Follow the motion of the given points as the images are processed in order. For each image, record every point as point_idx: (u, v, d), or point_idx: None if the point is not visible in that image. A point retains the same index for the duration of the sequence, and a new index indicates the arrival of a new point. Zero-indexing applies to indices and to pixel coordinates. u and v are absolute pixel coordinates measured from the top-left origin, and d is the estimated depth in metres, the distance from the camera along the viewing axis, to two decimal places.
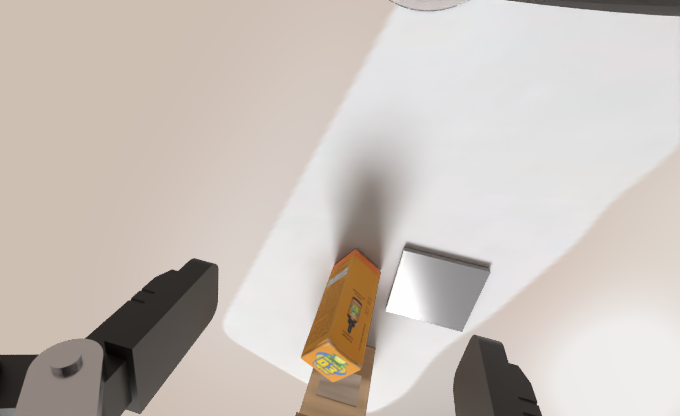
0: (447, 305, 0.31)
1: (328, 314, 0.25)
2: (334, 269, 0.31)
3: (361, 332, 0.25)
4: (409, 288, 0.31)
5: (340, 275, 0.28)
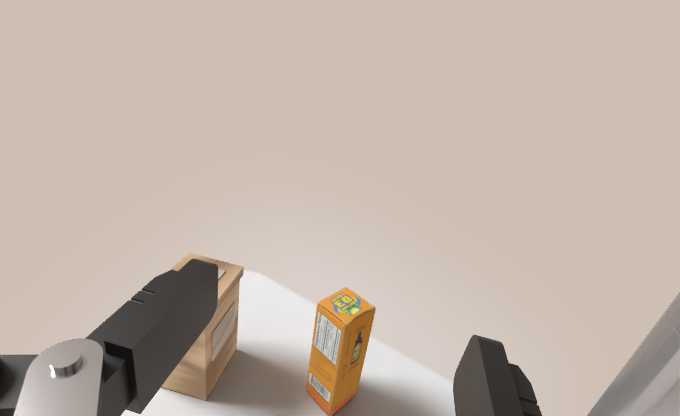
0: None
1: None
2: None
3: (349, 346, 0.26)
4: None
5: None
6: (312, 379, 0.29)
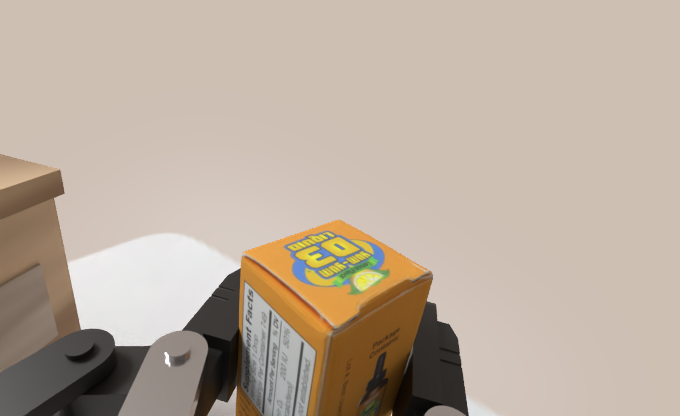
0: None
1: None
2: None
3: (345, 404, 0.07)
4: None
5: None
6: None
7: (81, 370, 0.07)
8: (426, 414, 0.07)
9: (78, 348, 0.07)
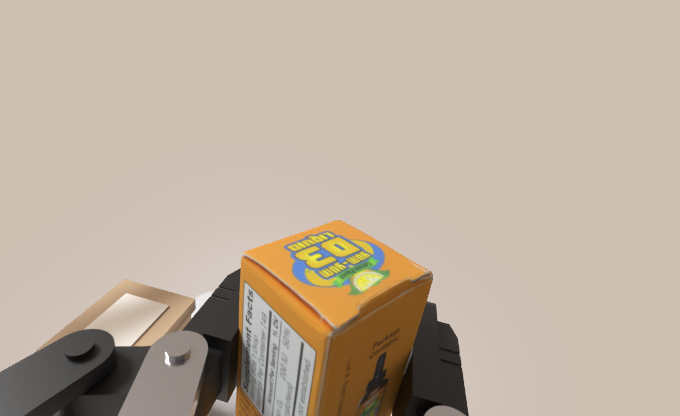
0: None
1: None
2: None
3: (345, 405, 0.07)
4: None
5: None
6: None
7: (81, 370, 0.07)
8: (426, 414, 0.07)
9: (78, 348, 0.07)
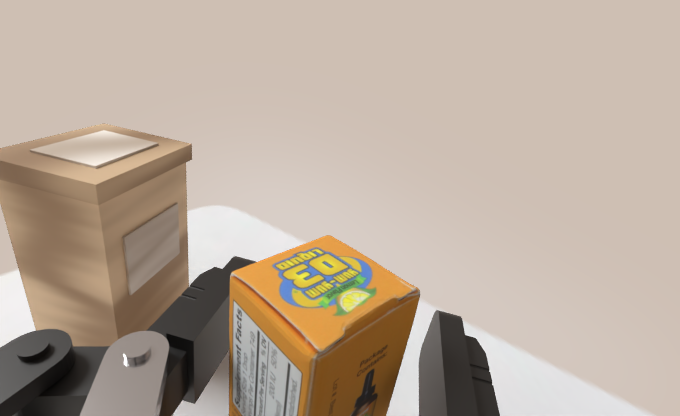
0: None
1: None
2: None
3: None
4: None
5: None
6: None
7: (34, 371, 0.07)
8: None
9: (32, 348, 0.07)
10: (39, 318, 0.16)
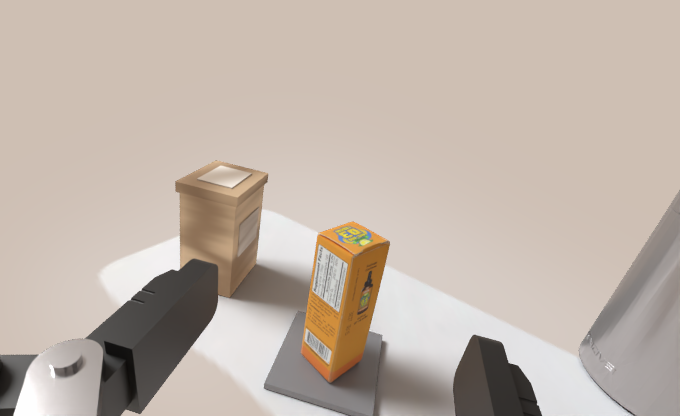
0: (311, 368, 0.24)
1: None
2: None
3: (356, 288, 0.20)
4: None
5: None
6: (309, 337, 0.23)
7: None
8: None
9: None
10: None
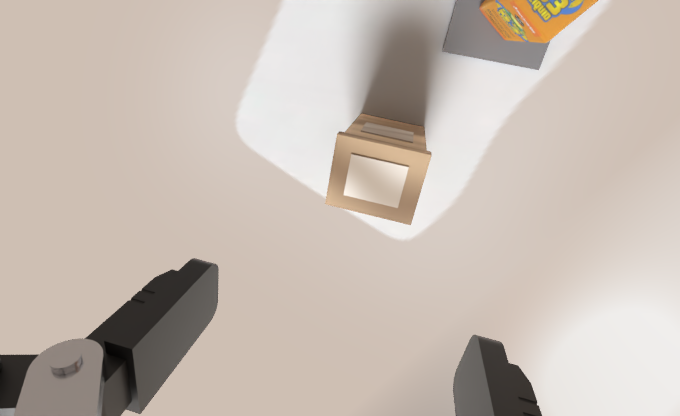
0: None
1: None
2: None
3: None
4: (476, 6, 0.25)
5: None
6: None
7: None
8: None
9: None
10: None
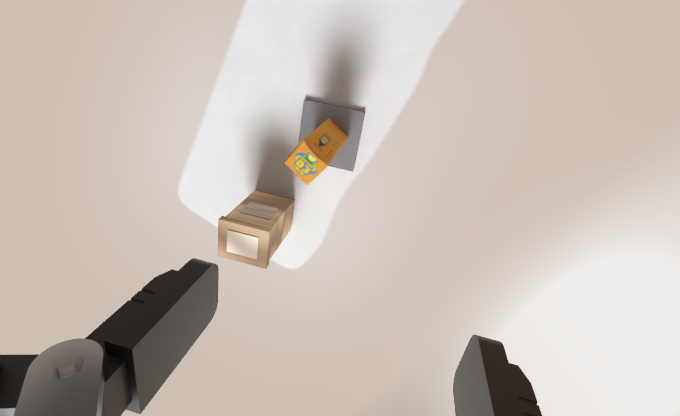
0: None
1: None
2: None
3: (328, 151, 0.34)
4: None
5: None
6: None
7: None
8: None
9: None
10: (287, 231, 0.47)
